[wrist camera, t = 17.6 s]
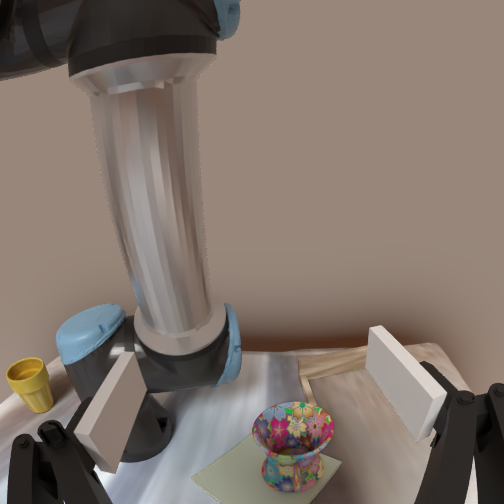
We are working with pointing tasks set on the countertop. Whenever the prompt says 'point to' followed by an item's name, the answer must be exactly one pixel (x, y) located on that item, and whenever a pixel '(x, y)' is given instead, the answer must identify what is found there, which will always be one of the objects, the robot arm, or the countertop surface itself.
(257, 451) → the board
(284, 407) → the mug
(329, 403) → the countertop surface
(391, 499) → the countertop surface
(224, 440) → the countertop surface
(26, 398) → the plant pot
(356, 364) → the mug holder
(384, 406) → the countertop surface
